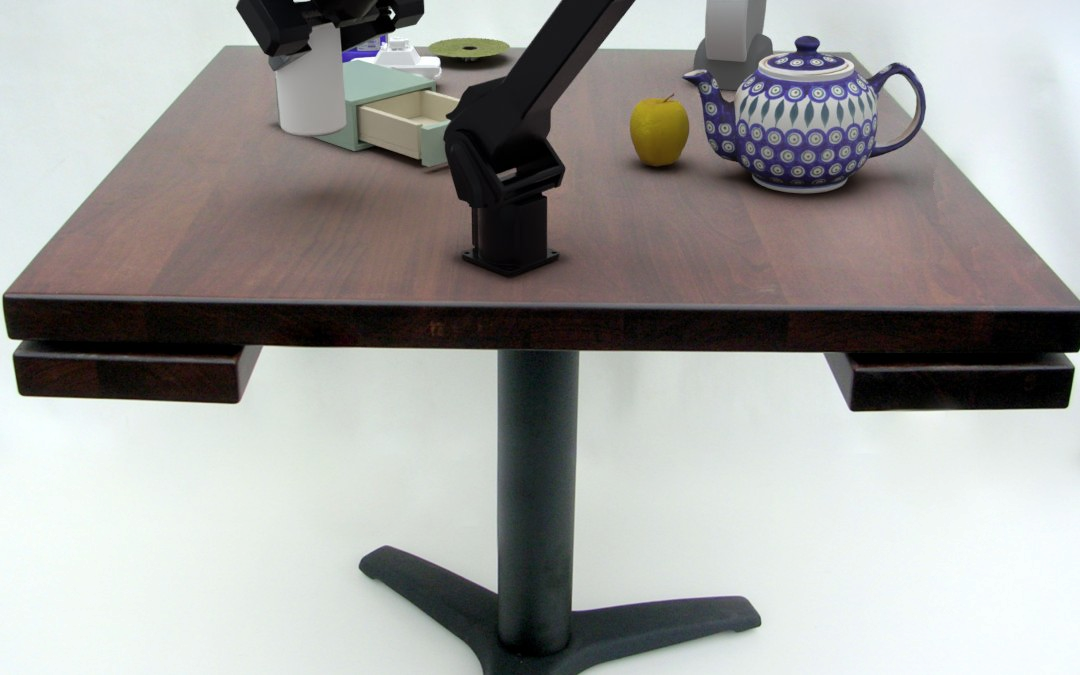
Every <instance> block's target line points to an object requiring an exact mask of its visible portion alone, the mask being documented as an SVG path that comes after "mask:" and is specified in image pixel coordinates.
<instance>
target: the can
mask: <svg viewBox="0 0 1080 675" xmlns="http://www.w3.org/2000/svg"><path fill="white" fill-rule="evenodd" d="M305 1H306V0H298V1H297V0H296V1H294V2H295V3H300V2H305ZM309 36H310V39H309V40H308V44H309V45H310V47H311V48H312V51H310V52H309V53H307V54H305V55H304V56H302V57H300V58H298V59H297V60H295V61H293V62H292V63H290V64H288V65H287V66H285V67H283V68H281V69H279V70H277V71H274V72H275V78H276V82H277V93H278V103H279V114H280V123H281V126H280V128H281V129H282V130H283V132H284V133H286V134H288V135H290V136H294V137H300V138H314V137H319V136H326V135H331V134H335V133H337V132H340V131H341V130H343V128H344V126H345V125H346V107H345V92H344V78H343V65H342V51H341V38H340V28H335V26H334V25H333V24H330V25H326V26H321V27H316V28H312V33H311V34H310V35H309Z"/></svg>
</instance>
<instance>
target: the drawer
mask: <svg viewBox="0 0 1080 675" xmlns="http://www.w3.org/2000/svg"><path fill="white" fill-rule="evenodd" d="M459 101H460V98H457V97H454V96H451V95H446V94H444V93H439V92H437V91H436V92H433V91H429V90H425V89H420V90H416V91H412V92H408V93H404V94H400V95H396V96H392V97H388V98H384V99H380V100H376V101H372V102H368V103H364V104H360V105H356V117H357V134H358V140H361V141H364V142H367V143H370V144H373V145H376V146H375V147H379V148H383V149H386V150H389V151H392V152H395V153H398V154H401V155H404V156H407V157H409V158H412V159H415V160H421V166H424V167H427V168H431V167H434V166H438V165H442V164H444V163H448V161H447V158H446V154H445V142H444V140H443V136H444V131H445V129H446V127H447V125H448V123H449V122H450V121H451V120H449V119H447V118H446V114H448V113H450V112H452V111H453V110H454V109H455V108H456V107H457V105H458V103H459Z"/></svg>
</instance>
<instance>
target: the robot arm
mask: <svg viewBox="0 0 1080 675" xmlns="http://www.w3.org/2000/svg"><path fill="white" fill-rule="evenodd" d="M304 1H305V2H300V3H295V2H296V1H295V0H238V1H237V3H236V6H235V10H236V11H237V13H238V14H239V15H240V18H241V19H242V20H243V22H244V23H245V25H246V27H247V28H248V30H249V32H250V33H251V36H252V37H253V38H254V40H255V41H256V43H257V44H258V46H259V47H260V49H261V51H262V52H263V54H265V55H266V56H268V59H267V63H268V66H269V67H270V69H271V70H272V71H273V72H275V71H277V70H279V69H281V68H283V67H285V66H287V65H288V64H290V63H292V62H293V61H295V60H297V59H298V58H300V57H302V56H304V55H305V54H307V53H309V52H310V51H312V48H311V47H310V45H309V44H308V40H309V39H310V36H309V35H310V34H311V33H312V28H316V27H321V26H326V25H330V24H333V25H334V26H335V28H340V38H341V51H342V53H344V52H346V51H348V50H351V49H353V48H355V47H357V46H360V45H362V44H365V43H367V42H370V41H372V40H374V39H377V38H379V37H382V36H384V35H387V34H388V35H389V34H393V33H394V32H395V31H396V30H399V29H403V28H407V27H413V26H417V24H418V23H419V21H420V20H421V18H422V17H423V16H424V14H425V0H304ZM636 1H637V0H560V1H559V2H558V4H557V5H556V6H555V8H554V10H553V11H552V12H551V14H550V15H549V17H548V18H547V19H546V20H545V22H544V23H543V25H542V26H541V28H540V29H539V30H538V31H537V33H536V35H534V37H533V39H532V40H531V41H530V43H529V44H528V45H527V47H526V48H525V49H524V50H523V52H522V54H521V55H520V56H519V58H518V59H517V61H515V63H514V65H513V66H512V67H511V69H510V70H509V71H508V73H507V75H504V76H501V77H497V78H494V79H493V78H492V79H490V80H486V81H482V82H479V83H475V84H472V85H469V86H468V87H467V88H466V89H465V90H464V91H463V93H462V94H461V96H460V98H459V99H460V101H459V103H458V105H457V107H456V108H455V109H454V110H453V111H452V112H450V113H448V114H446V118H447V119H449V120H451V121H450V122H449V123H448V125H447V127H446V129H445V131H444V136H443V140H444V142H445V154H446V158H447V161H448V162H447V165H448V168H449V171H450V175H451V179H452V182H453V186H454V189H455V191H456V196H457V199H458V200H459V201H462V202H464V203H467V204H468V207H469V208H470V211H471V212H470V214H471V246H473V247H472V248H469V249H467V250H463V251H462V252H460V254H461V255H460V256H461V259H463V260H466V261H468V262H470V263H473V264H475V265H478V266H481V267H483V268H485V269H488V270H491V271H493V272H496V273H499V274H501V275H503V276H507V277H514V276H516V275H519V274H522V273H524V272H526V271H529V270H531V269H535V268H537V267H539V266H542V265H544V264H547V263H550V262H552V261H555V260H558V259H559V258H560V251H558V250H556V249H553V248H550V247H548V196H547V195H544V194H543V193H544V192H547V191H549V190H553V189H557V188H560V187H561V186H562V182H563V179H564V176H565V173H566V166H565V164H564V162H563V161H562V159H561V158H560V157H559V154H558V153H557V152H556V151H555V149H554V148H553V146H552V144H551V143H550V141H549V140H548V136H549V135H550V132H551V129H552V128H551V127H552V109H553V108H554V106H555V104H556V103H557V102H558V100H560V98H561V97H562V95H564V93H565V92H566V90H567V89H568V88H569V87H570V85H571V84H572V83H573V81H574V80H575V79H576V78H577V76H578V75H579V74H580V73H581V71H582V70H583V69H584V67H585V66H586V65H587V63H588V62H589V61H590V60H591V58H592V57H593V56H594V55H595V53H597V51H598V49H600V47H601V45H602V44H603V43H604V42H605V40H606V39H607V38H608V37H609V35H610V34H611V33H612V32H613V30H614V29H615V28H616V26H617V25H618V24H619V22H621V20H622V19H623V18H624V16H625V15H626V13H627V12H628V11H629V10H630V8H631V7H632V6H633V5H634V3H635V2H636ZM392 14H394V16H393V17H391V15H392ZM513 169H515V170H516V171H514V172H511V173H509V174H506V175H502V176H500V177H499V176H498V175H499V174H502V173H505V172H507V171H510V170H513Z"/></svg>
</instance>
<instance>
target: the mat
mask: <svg viewBox="0 0 1080 675" xmlns="http://www.w3.org/2000/svg"><path fill="white" fill-rule="evenodd" d="M510 49H511V45H510V44H508V42H505V41H503V40H498V39H491V38H482V37H481V38H480V37H461V38H460V37H458V38H456V37H455V38H450V39H444V40H443V39H442V40H438V41H436V42H433V43H431V44H429V45H428V47H427V50H428V51H429V52H431V53H433V54H435V55H439V56H442V57H451V58H461V60H462V61H464V62H468V61H473V62H474V61H477V60H478V58H481V57H490V56H495V55H499V54H500V55H501V54H504V53H505V52H507V51H508V50H510Z"/></svg>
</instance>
